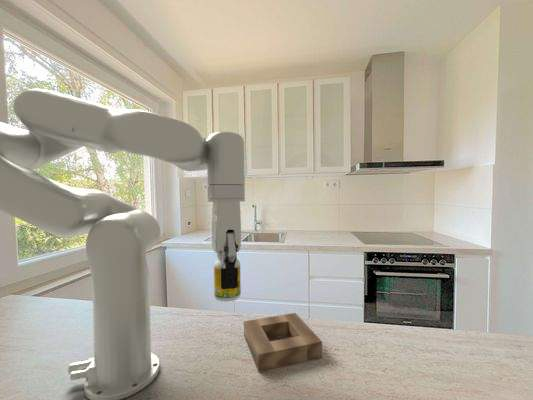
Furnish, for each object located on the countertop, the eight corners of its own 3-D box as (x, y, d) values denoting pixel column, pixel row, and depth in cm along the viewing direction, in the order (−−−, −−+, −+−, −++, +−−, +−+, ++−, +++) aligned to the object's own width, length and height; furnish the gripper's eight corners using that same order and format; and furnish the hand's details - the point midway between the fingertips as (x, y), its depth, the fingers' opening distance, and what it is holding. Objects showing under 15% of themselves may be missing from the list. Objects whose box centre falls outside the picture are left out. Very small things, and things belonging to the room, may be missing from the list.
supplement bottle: (233, 290, 55) (233, 246, 55) (245, 298, 50) (245, 250, 50) (210, 295, 52) (209, 249, 52) (220, 304, 47) (219, 254, 47)
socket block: (258, 372, 49) (258, 354, 49) (244, 335, 62) (243, 321, 62) (322, 357, 53) (322, 341, 53) (295, 326, 66) (295, 312, 66)
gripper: (205, 195, 58) (206, 273, 58) (210, 193, 42) (211, 301, 42) (237, 195, 60) (237, 270, 60) (254, 193, 44) (255, 296, 44)
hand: (227, 282), depth 51 cm, fingers closed on supplement bottle, 5 cm apart
